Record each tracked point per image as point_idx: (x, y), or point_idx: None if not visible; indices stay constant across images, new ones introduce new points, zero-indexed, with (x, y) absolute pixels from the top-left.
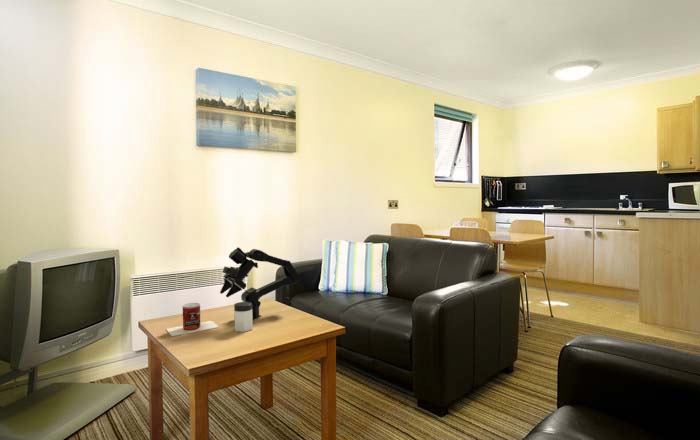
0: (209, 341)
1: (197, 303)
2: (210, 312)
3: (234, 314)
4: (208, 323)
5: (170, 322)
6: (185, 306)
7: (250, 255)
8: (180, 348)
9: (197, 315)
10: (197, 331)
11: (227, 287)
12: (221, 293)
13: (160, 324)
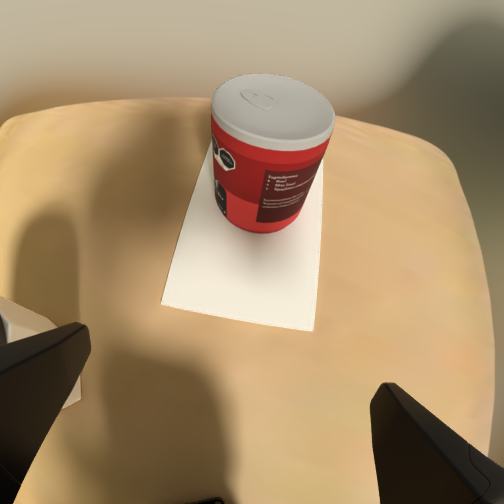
0: (54, 187)
1: (291, 137)
2: (460, 385)
3: (21, 319)
4: (271, 291)
5: (407, 189)
6: (276, 84)
7: None
8: (93, 116)
9: (214, 160)
10: (191, 199)
11: None
12: (372, 402)
13: (397, 159)
